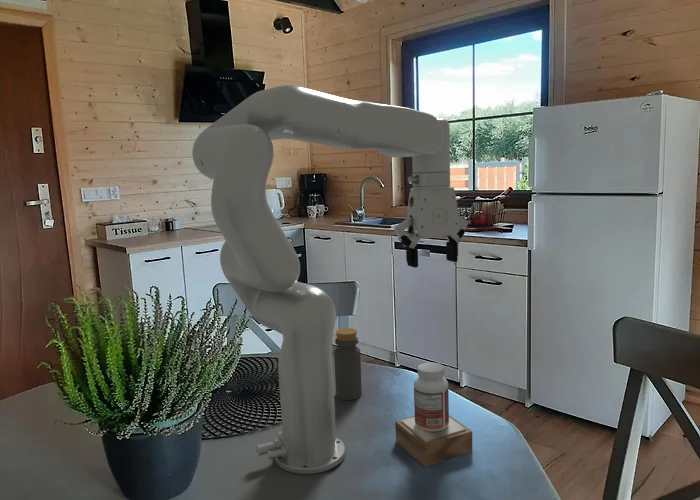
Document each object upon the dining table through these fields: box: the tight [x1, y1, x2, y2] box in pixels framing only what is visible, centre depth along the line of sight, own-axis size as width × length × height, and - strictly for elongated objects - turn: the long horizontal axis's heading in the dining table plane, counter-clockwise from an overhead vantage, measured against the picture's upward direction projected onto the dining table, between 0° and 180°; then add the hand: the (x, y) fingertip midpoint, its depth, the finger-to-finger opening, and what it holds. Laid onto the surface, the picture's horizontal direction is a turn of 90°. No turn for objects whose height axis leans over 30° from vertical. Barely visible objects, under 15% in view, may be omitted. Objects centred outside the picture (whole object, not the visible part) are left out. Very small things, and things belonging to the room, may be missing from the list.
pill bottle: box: [413, 361, 450, 432], centre depth 100 cm, size 6×6×11 cm
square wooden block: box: [394, 415, 473, 468], centre depth 101 cm, size 10×10×4 cm
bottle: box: [333, 327, 363, 401], centre depth 123 cm, size 6×6×15 cm
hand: (432, 263), depth 115 cm, fingers open, 9 cm apart
